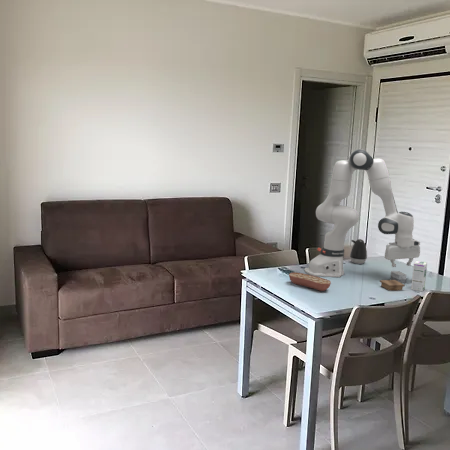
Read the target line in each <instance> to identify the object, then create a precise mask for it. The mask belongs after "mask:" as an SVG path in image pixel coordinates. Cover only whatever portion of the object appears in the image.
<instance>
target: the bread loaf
mask: <svg viewBox="0 0 450 450" xmlns="http://www.w3.org/2000/svg"><path fill="white" fill-rule="evenodd" d="M288 275H289V276H288V277H289V278H288V279H289V280H290V282H291V283H293V284H294V285H296V286H297V285H298V286H302V287H307V288H311V289H313V290H316V291H319V292H324V291H327V290H328V289H329V288H330V287H331V284H332V283H331V282H332V281H331V280H329V279H327V278H323V277H321V276H312V275H310V274H308V273H303V272H291V273H289V274H288Z"/></svg>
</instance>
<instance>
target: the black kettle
mask: <svg viewBox="0 0 450 450" xmlns="http://www.w3.org/2000/svg"><path fill="white" fill-rule="evenodd" d="M351 242H352V243H353V245H352V247H351V251H350V254H349V257H350V261H351V262H352V263H354V264H357V265H362V264H364V263H365V262H366V261H367V259H368V249H367V246H366V243H365V241H364V240H363V239H361V238H359V239H356V240H353V239H351Z"/></svg>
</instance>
